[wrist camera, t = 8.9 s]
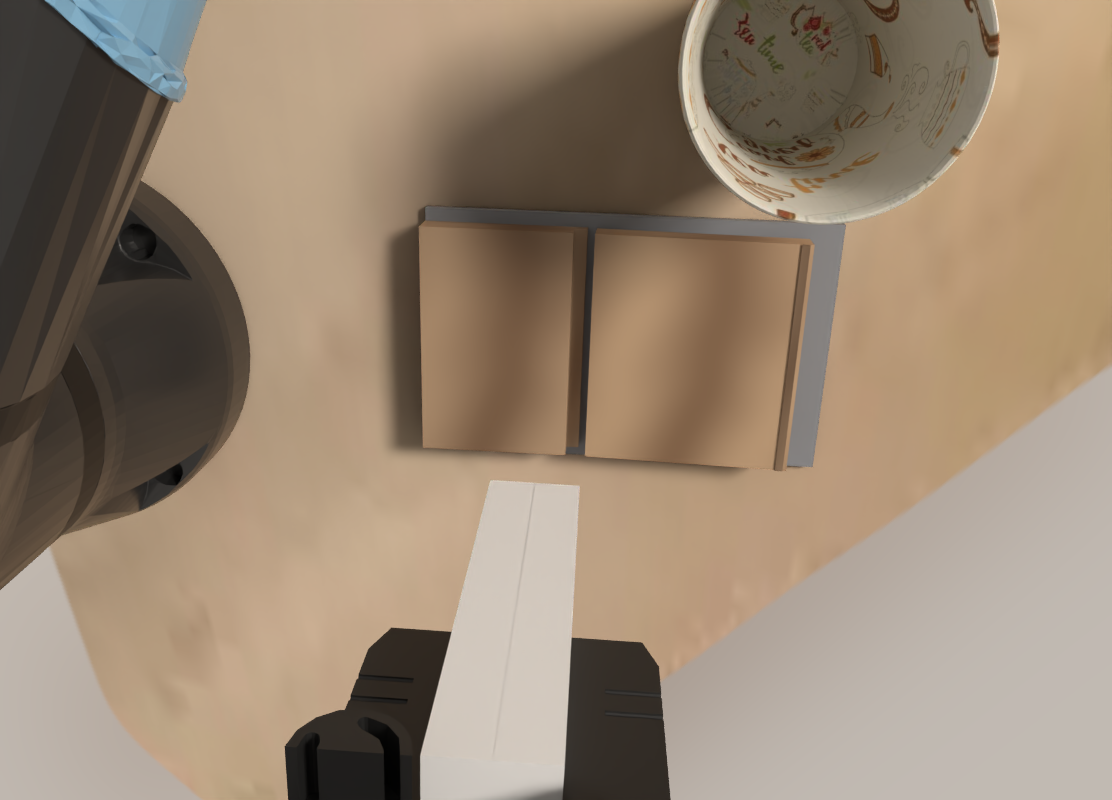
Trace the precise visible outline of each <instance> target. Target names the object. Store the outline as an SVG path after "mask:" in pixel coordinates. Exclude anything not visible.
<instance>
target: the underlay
mask: <svg viewBox="0 0 1112 800" xmlns="http://www.w3.org/2000/svg"><path fill="white" fill-rule="evenodd" d="M425 220H426V221H450V222H473V223H497V224H520V225H543V226H567V227H588V242H587V265H586V288H585V311H584V334H583V357H582V380H581V403H580V426H579V446H578V447H566V452H565V454H581V455H585V443H586V421H587V399H588V378H589V356H590V334H591V313H592V291H593V269H594V247H595V233H596V230H597V228H602V229H621V230H641V231H661V232H681V233H701V234H720V235H740V236H760V237H780V238H799V239H810V240H811V241H812V242H813V244H814V245H815V247H814V255H813V263H812V271H811V279H810V286H809V294H808V302H807V310H806V318H805V326H804V334H803V341H802V349H801V357H800V365H799V373H798V381H797V389H796V396H795V404H794V412H793V420H792V428H791V436H790V444H789V451H788V459H787V466H802V467H813V460H814V452H815V445H816V438H817V431H818V423H819V416H820V409H821V401H822V394H823V387H824V380H825V372H826V365H827V358H828V351H829V343H830V336H831V329H832V322H833V314H834V307H835V300H836V293H837V285H838V278H839V271H840V263H841V256H842V249H843V242H844V234H845V227H846V225H845V224H844V223H842V224H829V225H817V224H804V223H797V222H792V221H777V220H753V219H729V218H705V217H681V216H658V215H634V214H610V213H586V212H563V211H539V210H515V209H491V208H467V207H444V206H426V207H425Z"/></svg>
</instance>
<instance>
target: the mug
mask: <svg viewBox="0 0 1112 800" xmlns="http://www.w3.org/2000/svg"><path fill="white" fill-rule="evenodd" d="M998 60H999V25H998V18H997V11H996V7H995V2H994V0H694V2H693V4H692V7H691V10H690V12H689V15H688V18H687V21H686V24H685V27H684V31H683V35H682V40H681V45H680V51H679V62H678V88H679V97H680V104H681V109H682V113H683V117H684V121H685V124H686V127H687V130H688V132H689V135H690V137H691V140H692V142H693V144H694V146H695V148H696V150H697V152H698V153H699V155H700V157H701V158H702V160H703V161H704V163H705V164H706V166H707V167H708V168H709V170H710V171H711V172H712V173H713V174H714V176H715V177H716V178H717V179H718V180H719V181H720V182H721V183H722V184H723V185H724V186H725V187H726V188H727V189H728V190H729V191H730V192H732V193H733V194H734V195H735V196H737V197H738V198H739V199H741V200H742V201H744V202H745V203H747V204H749V205H750V206H752V207H754V208H756V209H758V210H760V211H762V212H764V213H766V214H769V215H772V216H774V217H777V218H780V219H784V220H788V221H792V222H797V223H804V224H817V225H829V224H842V223H849V222H854V221H859V220H863V219H867V218H870V217H874V216H876V215H879V214H882V213H884V212H887V211H889V210H891V209H893V208H895V207H897V206H899V205H901V204H903V203H905V202H907V201H908V200H910V199H912V198H913V197H915V196H916V195H918V194H919V193H920V192H922V191H923V190H925V189H926V188H927V187H929V186H930V185H931V184H932V183H934V182H935V181H936V180H937V179H938V178H939V177H940V176H941V175H942V174H943V173H944V172H945V171H946V170H947V169H948V168H949V167H950V166H951V165H952V164H953V163H954V161H955V160H956V159H957V158H958V157H959V155H960V154H961V153H962V151H963V150H964V148H965V147H966V146H967V144H968V143H969V142H970V140H971V138H972V136H973V135H974V133H975V131H976V129H977V128H978V126H979V124H980V122H981V120H982V117H983V115H984V113H985V111H986V109H987V106H988V103H989V100H990V97H991V94H992V91H993V87H994V83H995V79H996V73H997V67H998Z"/></svg>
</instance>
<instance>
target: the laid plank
mask: <svg viewBox="0 0 1112 800" xmlns="http://www.w3.org/2000/svg"><path fill="white" fill-rule="evenodd" d="M587 242H588V227H567V226H543V225H520V224H497V223H473V222H450V221H426V220H425V221H424V222H423V223H422V224H421V225H420V226H419V267H420V320H421V374H422V427H423V448H441V449H459V450H478V451H496V452H514V453H533V454H551V455H565V452H566V447H578V446H579V426H580V403H581V380H582V357H583V334H584V311H585V288H586V265H587Z"/></svg>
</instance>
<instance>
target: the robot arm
mask: <svg viewBox="0 0 1112 800" xmlns="http://www.w3.org/2000/svg"><path fill="white" fill-rule="evenodd" d="M206 1H207V0H0V590H1V589H2V588H3V587H4V586H5V585H6V584H8V583H9V582H10V581H11V580H12V579H13V578H14V577H15V576H16V575H18V574H19V573H20V572H21V571H22V570H23V569H24V568H26V567H27V566H28V565H29V564H30V563H31V562H32V561H33V560H35V559H36V558H37V557H38V556H39V555H40V554H41V553H42V552H43V551H44V550H45V549H46V548H47V547H49V546H50V545H51V544H52V543H53V542H54V541H55V540H57V539H58V538H59V537H60V536H61V535H64V534H67V533H71V532H74V531H77V530H81V529H84V528H87V527H91V526H94V525H97V524H101V523H104V522H107V521H111V520H114V519H117V518H121V517H124V516H127V515H131V514H133V513H136V512H139V511H142V510H144V509H146V508H148V507H150V506H153V505H155V504H156V503H158V502H160V501H162V500H164V499H165V498H167V497H169V496H170V495H172V494H173V493H174V492H176V491H177V490H179V489H180V488H181V487H183V486H184V485H185V484H186V483H187V482H189V481H190V480H191V479H192V478H193V477H194V476H195V475H196V474H197V473H198V472H199V471H200V470H201V469H202V468H203V467H204V466H205V465H206V464H207V463H208V462H209V461H210V460H211V459H212V458H213V457H214V456H215V454H216V453H217V452H218V451H219V450H220V449H221V447H222V446H223V444H224V443H225V442H226V440H227V439H228V437H229V436H230V434H231V432H232V430H233V429H234V427H235V425H236V422H237V420H238V418H239V416H240V413H241V410H242V408H243V404H244V401H245V397H246V393H247V388H248V382H249V373H250V346H249V337H248V330H247V325H246V320H245V316H244V313H243V309H242V306H241V303H240V300H239V297H238V294H237V292H236V289H235V287H234V285H233V282H232V280H231V278H230V276H229V274H228V272H227V270H226V268H225V266H224V265H223V263H222V261H221V260H220V258H219V256H218V255H217V253H216V252H215V250H214V249H213V247H212V246H211V245H210V243H209V242H208V240H207V239H206V238H205V237H204V235H203V234H202V233H201V232H200V230H199V229H198V228H197V227H196V226H195V225H194V224H193V223H192V222H191V220H190V219H189V218H188V217H187V216H186V215H185V214H183V213H182V212H181V211H180V210H179V209H178V208H177V207H176V206H175V205H174V204H172V203H171V202H170V201H169V200H168V199H167V198H165V197H164V196H163V195H161V194H160V193H159V192H157V191H156V190H155V189H153V188H152V187H150V186H148V185H147V184H145V183H144V182H142V181H141V178H142V176H143V173H144V171H145V169H146V166H147V164H148V161H149V159H150V157H151V154H152V152H153V149H154V147H155V145H156V142H157V140H158V137H159V135H160V133H161V130H162V128H163V125H164V123H165V121H166V118H167V116H168V113H169V111H170V109H171V106H172V104H173V101H174V102H181V101H182V99H183V96H184V94H185V92H186V86H187V80H186V78H185V76H184V73H183V71H184V67H185V64H186V61H187V57H188V54H189V51H190V48H191V44H192V41H193V39H194V36H195V33H196V30H197V27H198V24H199V21H200V18H201V15H202V12H203V9H204V6H205V4H206ZM579 488H580V486H575V485H560V484H544V483H529V482H514V481H498V480H490V484H489V488H488V492H487V496H486V500H485V504H484V507H483V511H482V515H481V519H480V523H479V527H478V531H477V535H476V539H475V543H474V547H473V551H472V555H471V558H470V562H469V566H468V570H467V574H466V578H465V582H464V586H463V590H462V594H461V598H460V602H459V606H458V609H457V613H456V617H455V621H454V625H453V629H452V632H445V631H431V630H416V629H402V628H391V629H390V630H389V631H388V632H386V633H385V634H384V635H383V636H382V637H381V638H380V639H379V640H378V641H377V642H375V643H374V644H373V645H372V646H371V647H370V648H369V649H368V652H367V654H366V657H365V659H364V662H363V665H362V667H361V670H360V672H359V678H358V679H357V680H356V683H355V685H354V688H353V691H352V693H351V699H350V700H349V701H348V704H347V706H346V709H345V710H339V711H335V712H332V713H329V714H326V715H323V716H320V717H317V718H315V719H313V720H312V721H310V722H309V723H307V724H306V725H304V726H303V727H301V728H300V729H298V730H297V731H296V732H295V734H294V735H293V736H292V738H291V739H290V740H289V742H288V743H287V744H286V746H285V757H286V772H287V788H288V800H670V789H669V778H668V766H667V755H666V743H665V733H664V721H663V710H662V699H661V686H660V675H659V666H658V665H657V663H656V662H655V660H654V659H653V658H652V656H651V655H650V653H649V652H648V651H647V649H646V648H645V646H644V645H643V643H640V642H626V641H611V640H597V639H582V638H572V619H573V600H574V582H575V563H576V544H577V525H578V507H579Z"/></svg>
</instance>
